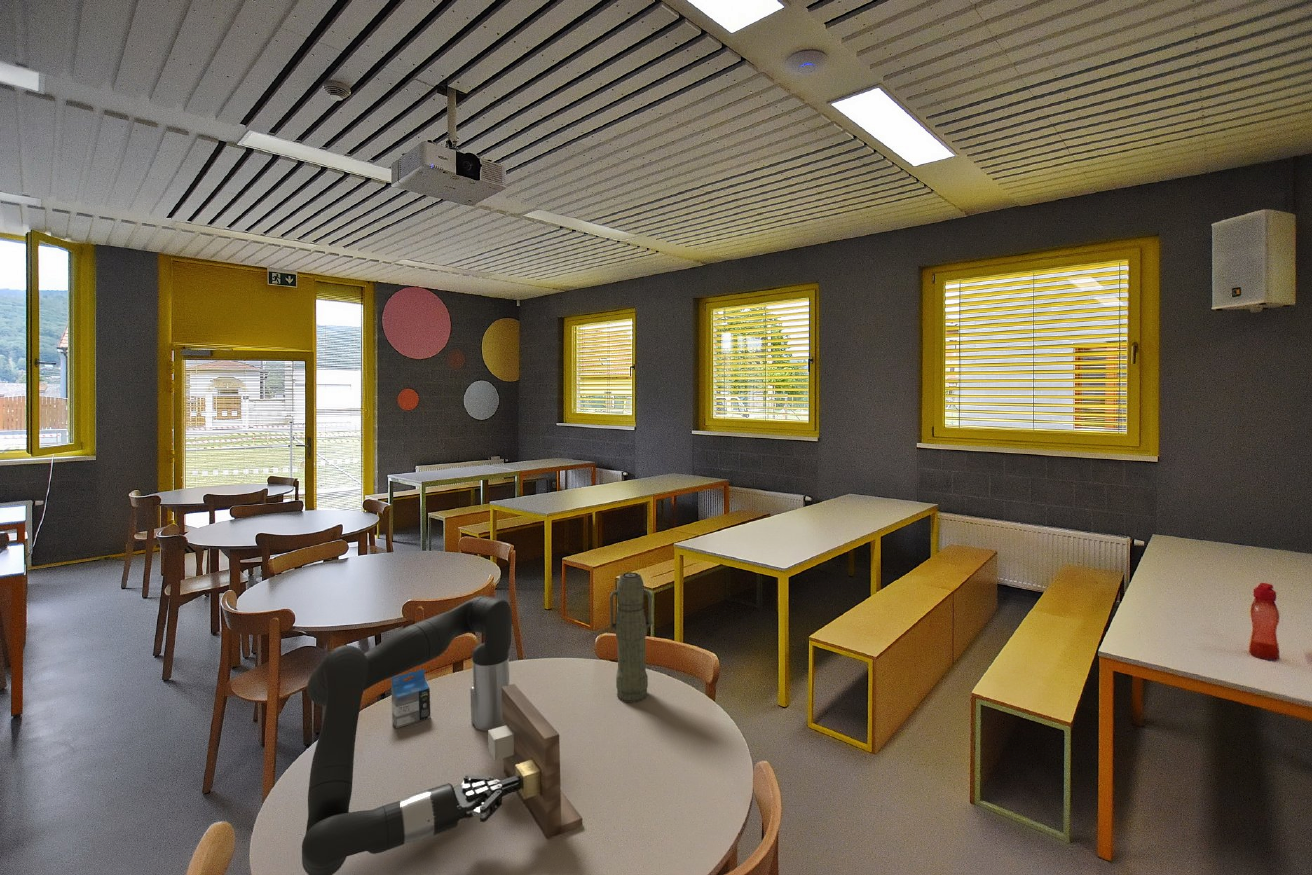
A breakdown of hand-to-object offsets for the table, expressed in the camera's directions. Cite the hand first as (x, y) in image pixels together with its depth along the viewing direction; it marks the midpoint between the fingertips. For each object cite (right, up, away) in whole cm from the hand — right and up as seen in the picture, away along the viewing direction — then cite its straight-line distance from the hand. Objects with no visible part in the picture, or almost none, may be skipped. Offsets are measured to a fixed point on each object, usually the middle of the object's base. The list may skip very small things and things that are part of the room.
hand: (519, 781), depth 124 cm
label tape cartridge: (-38, -8, +44) cm, 59 cm away
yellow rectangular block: (+3, -2, +2) cm, 4 cm away
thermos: (+20, -6, +57) cm, 61 cm away
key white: (-6, -1, +15) cm, 16 cm away
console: (+2, -9, +11) cm, 15 cm away
